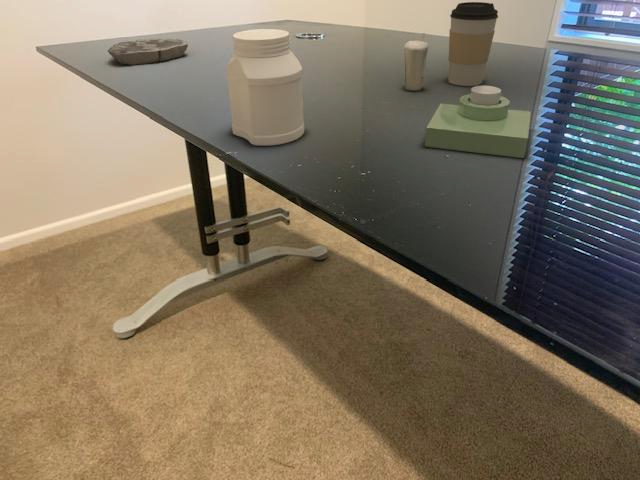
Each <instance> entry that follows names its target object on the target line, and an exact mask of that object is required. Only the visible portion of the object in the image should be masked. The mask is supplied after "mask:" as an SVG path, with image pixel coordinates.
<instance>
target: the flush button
mask: <svg viewBox="0 0 640 480" xmlns="http://www.w3.org/2000/svg"><path fill="white" fill-rule="evenodd" d="M469 94H470V101H469V102H471V103H474V104H477V105H487V106H488V105H497V104H499V101H500V96H502V89H501V88H499V87H497V86H492V85H475V86H471V88H470V93H469Z"/></svg>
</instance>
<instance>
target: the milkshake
mask: <svg viewBox="0 0 640 480" xmlns="http://www.w3.org/2000/svg"><path fill="white" fill-rule="evenodd" d="M425 35H426V32H422V35H421V38H420V39H421V40H419V39H418V40H417V39H416V40H409V41H408V42H406V43H405V44H404V45H403V46H404V47H403V48H404V89H405V90H407V91H411V92H416V91H421V90H422V88H423V82H424V76H425V69H426V64H427V63H426V62H427V58H428V52H429V46H430V45H429V44H428V43H427V42H426V41H424V39H425Z"/></svg>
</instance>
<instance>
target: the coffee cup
mask: <svg viewBox="0 0 640 480" xmlns="http://www.w3.org/2000/svg"><path fill="white" fill-rule="evenodd" d="M498 14H499V11H498V10H497V9H495V5H494V3H493V2H491V3H490V2H484V1H483V2H478V1H467V2H460V3H459V2H458V3H457V5H456V7H455V8H454V9H452V10H451V14H450V15H449V17H450V28H449V33H448V34H449V35H448V36H449V37H448V83H450V84H452V85H455V86H461V87H475V86H480V85H481V84H483V80H484V76H485V72H486V67H487V63H488V61H489V56H490V52H491V48H492V44H493V40H494V36H495V27H496V23H497V19H498V18H499V15H498Z"/></svg>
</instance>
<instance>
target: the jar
mask: <svg viewBox="0 0 640 480" xmlns="http://www.w3.org/2000/svg"><path fill="white" fill-rule="evenodd" d="M232 41H233V46H234V47H233V54H232V56H231V57H230V60H229V61H228V64H227V65H226V67H225V77H226V81H227V90H228V97H229V107H230V117H231V124H232V125H231V129H232V134H233V135H235V136H236V137H240V138H243V139H245V140H247V141H248V142H249V144H251V145H253V146H261V147H263V146H264V147H265V146H266V147H267V146H268V147H269V146H270V147H271V146H277V145H278V146H279V145H285V144H288V143H291V142H294V141H296V140H298V139H300V138H301V137H302V136H303V135H304V133H305V121H304V103H303V102H304V101H303V99H304V98H303V66H302V65H301V63H300V61H299V59H298V58H297V57H296V56H295V54H294V53H293V51H292V50H291V47H290V46H291V43H290V42H291V40H290V32H289V31H287V30H283V29H277V28H257V29H247V30H242V31H238V32H235V33H234V34H232Z"/></svg>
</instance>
